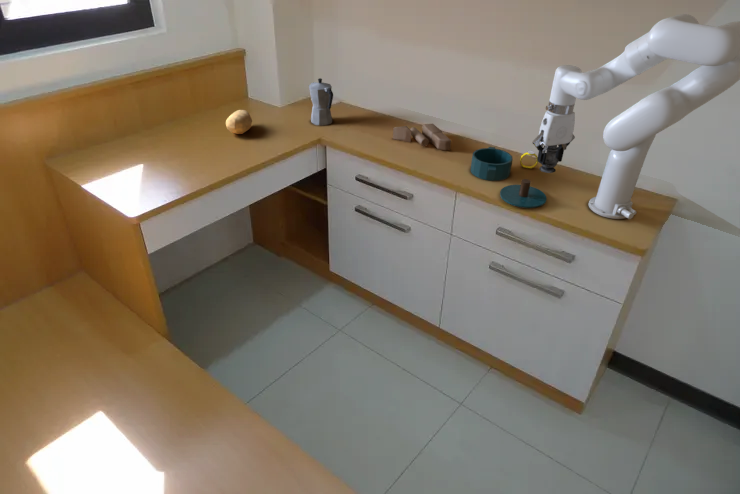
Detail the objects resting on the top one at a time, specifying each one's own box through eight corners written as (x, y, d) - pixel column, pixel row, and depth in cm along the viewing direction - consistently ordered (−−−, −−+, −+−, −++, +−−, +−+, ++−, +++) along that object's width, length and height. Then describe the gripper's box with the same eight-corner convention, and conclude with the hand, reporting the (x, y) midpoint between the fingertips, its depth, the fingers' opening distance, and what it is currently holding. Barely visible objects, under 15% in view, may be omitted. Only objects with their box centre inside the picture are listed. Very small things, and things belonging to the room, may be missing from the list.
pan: (508, 162, 186) (511, 146, 182) (510, 186, 170) (513, 169, 167) (471, 158, 188) (473, 143, 184) (469, 182, 172) (472, 165, 169)
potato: (256, 125, 211) (254, 106, 206) (248, 139, 199) (246, 119, 195) (233, 124, 211) (230, 105, 207) (223, 138, 200) (220, 118, 195)
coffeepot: (303, 119, 217) (301, 76, 207) (322, 114, 222) (321, 72, 212) (323, 130, 207) (321, 86, 197) (342, 125, 212) (342, 82, 202)
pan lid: (543, 190, 169) (547, 173, 165) (548, 212, 157) (552, 194, 153) (499, 185, 171) (502, 168, 167) (500, 207, 159) (503, 189, 155)
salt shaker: (557, 174, 168) (565, 139, 161) (538, 172, 169) (545, 137, 162) (555, 166, 172) (563, 132, 166) (537, 165, 173) (544, 131, 167)
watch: (518, 168, 182) (522, 152, 178) (518, 165, 184) (521, 149, 180) (536, 170, 181) (539, 154, 177) (535, 166, 183) (539, 151, 179)
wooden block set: (432, 119, 204) (452, 137, 190) (431, 133, 207) (450, 151, 193) (392, 124, 199) (410, 142, 185) (391, 137, 202) (409, 156, 188)
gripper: (544, 114, 153) (533, 169, 164) (591, 108, 158) (578, 162, 168) (529, 106, 159) (520, 160, 169) (576, 101, 164) (563, 153, 174)
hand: (549, 161), depth 169 cm, fingers closed on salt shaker, 5 cm apart
